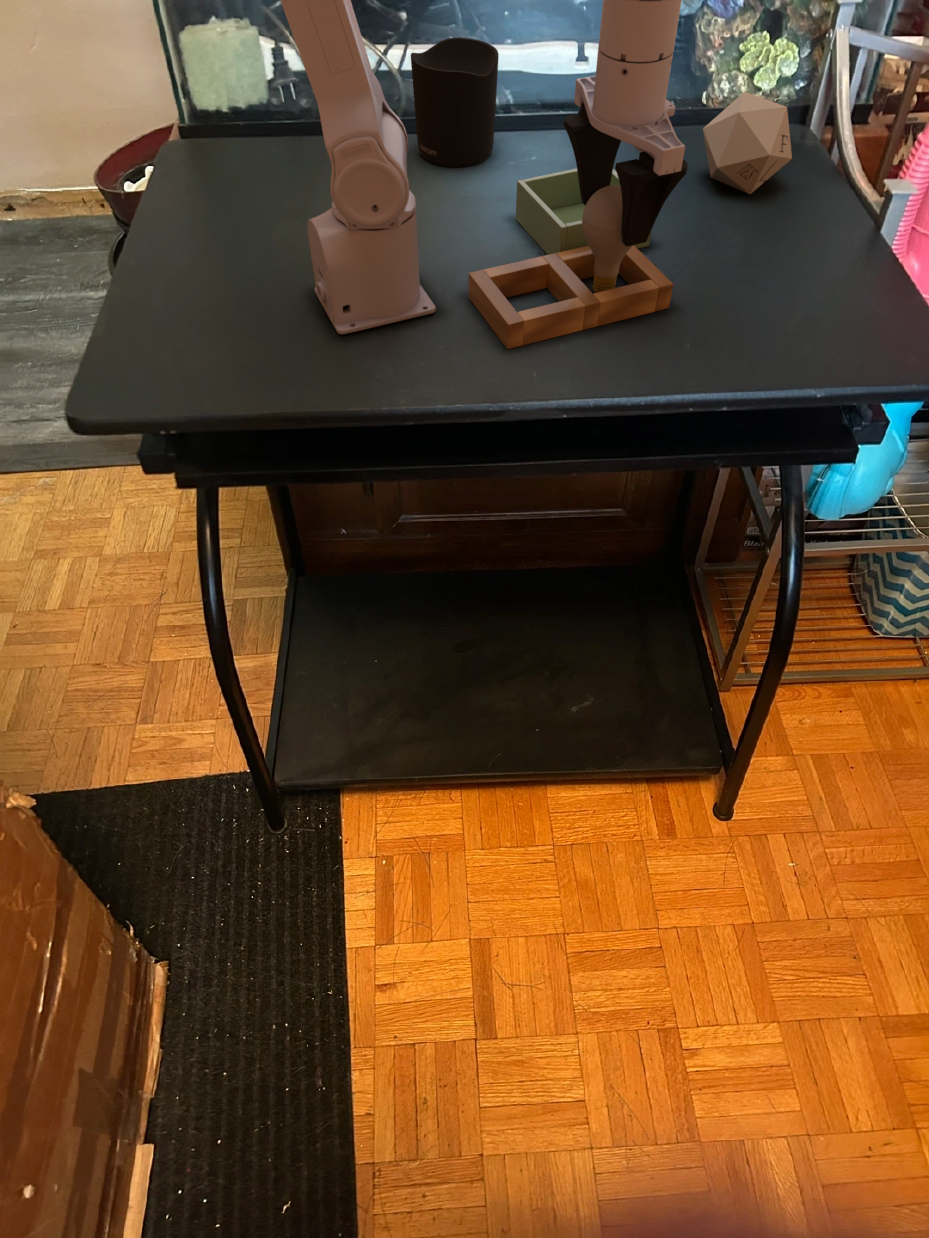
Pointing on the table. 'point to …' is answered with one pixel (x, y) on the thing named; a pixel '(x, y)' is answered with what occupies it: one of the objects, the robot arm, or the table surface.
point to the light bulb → (605, 235)
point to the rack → (565, 295)
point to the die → (748, 142)
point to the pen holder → (455, 101)
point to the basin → (555, 210)
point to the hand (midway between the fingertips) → (613, 222)
